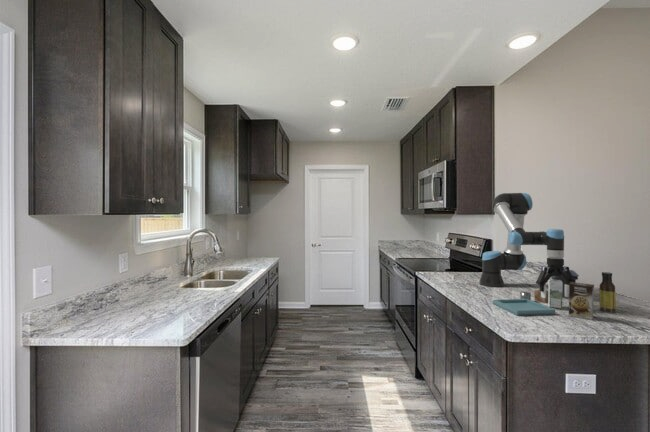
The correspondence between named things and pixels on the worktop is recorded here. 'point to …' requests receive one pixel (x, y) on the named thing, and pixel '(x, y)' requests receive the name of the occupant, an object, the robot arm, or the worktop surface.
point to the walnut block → (541, 299)
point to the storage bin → (557, 277)
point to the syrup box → (555, 293)
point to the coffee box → (581, 300)
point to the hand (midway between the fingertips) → (555, 297)
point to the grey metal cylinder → (525, 295)
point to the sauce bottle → (607, 293)
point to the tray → (523, 307)
